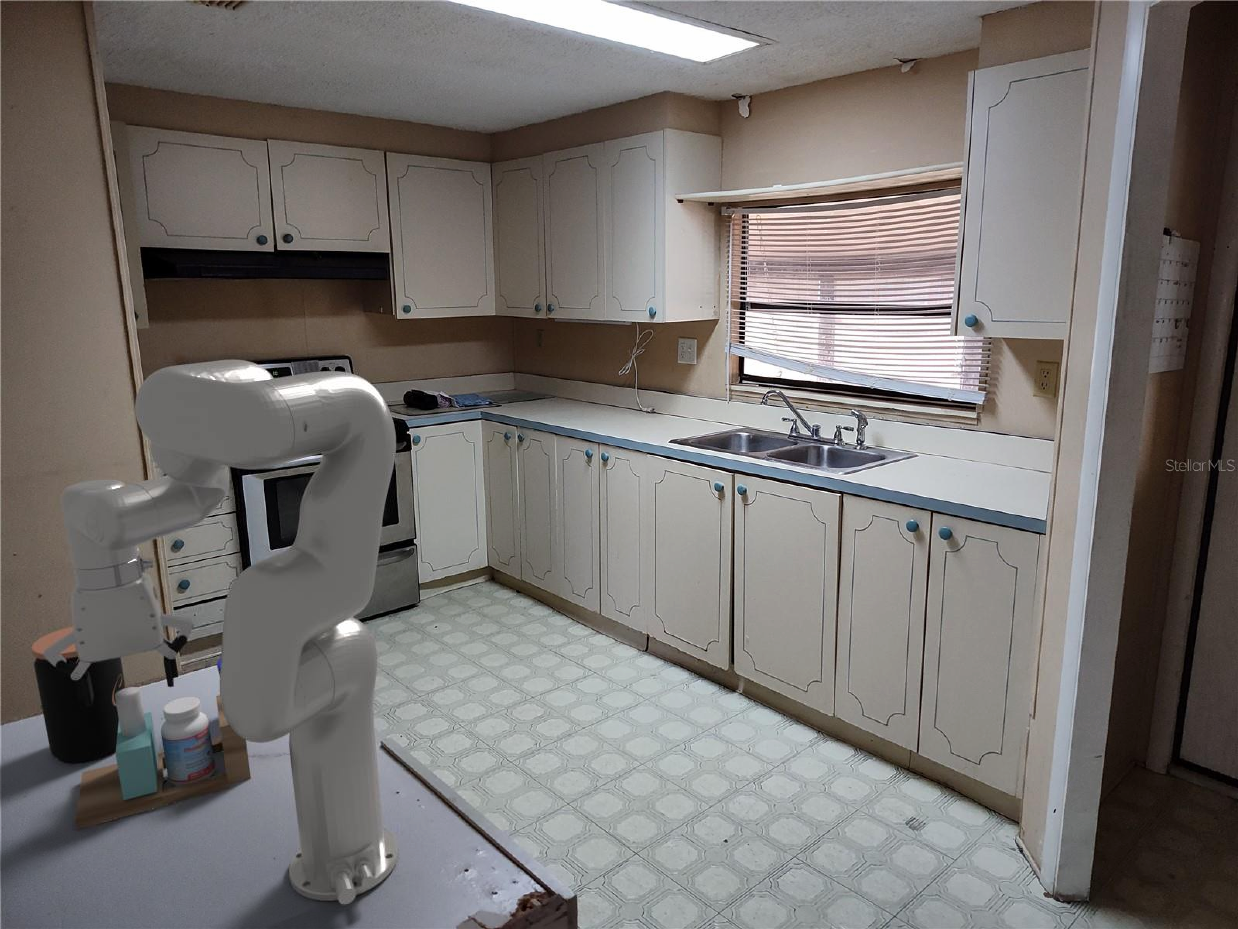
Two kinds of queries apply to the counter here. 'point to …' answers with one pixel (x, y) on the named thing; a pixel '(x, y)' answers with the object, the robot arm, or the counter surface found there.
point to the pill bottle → (187, 742)
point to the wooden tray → (105, 793)
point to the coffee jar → (78, 705)
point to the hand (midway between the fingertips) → (131, 692)
